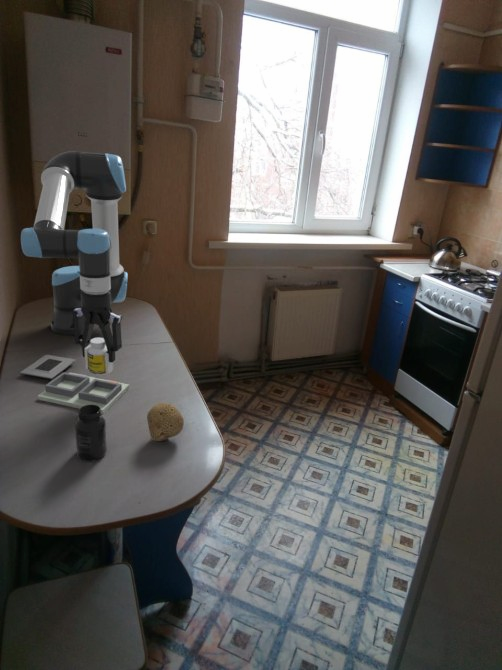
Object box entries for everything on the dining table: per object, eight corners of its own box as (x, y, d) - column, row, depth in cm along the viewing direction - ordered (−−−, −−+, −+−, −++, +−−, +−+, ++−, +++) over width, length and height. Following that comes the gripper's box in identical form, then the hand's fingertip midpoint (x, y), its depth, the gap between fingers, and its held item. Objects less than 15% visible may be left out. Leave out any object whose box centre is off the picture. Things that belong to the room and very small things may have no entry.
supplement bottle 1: (85, 374, 125) (83, 341, 121) (97, 366, 130) (95, 334, 126) (102, 378, 124) (100, 345, 120) (113, 370, 128) (112, 338, 125)
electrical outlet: (52, 384, 136) (51, 377, 135) (20, 378, 137) (19, 371, 136) (76, 365, 147) (75, 358, 147) (46, 360, 149) (46, 353, 148)
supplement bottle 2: (112, 453, 108) (111, 410, 104) (86, 465, 103) (83, 422, 99) (97, 440, 112) (95, 398, 108) (71, 451, 107) (67, 408, 103)
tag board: (69, 375, 140) (69, 366, 139) (129, 388, 136) (129, 378, 135) (38, 399, 126) (37, 389, 125) (103, 413, 123) (102, 403, 122)
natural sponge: (183, 428, 120) (184, 396, 116) (183, 449, 112) (184, 415, 108) (148, 428, 119) (148, 395, 115) (145, 449, 111) (145, 415, 107)
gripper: (55, 288, 116) (61, 369, 125) (121, 299, 112) (123, 381, 121) (72, 281, 122) (77, 358, 131) (135, 291, 119) (136, 369, 128)
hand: (99, 369), depth 126 cm, fingers closed on supplement bottle 1, 5 cm apart
